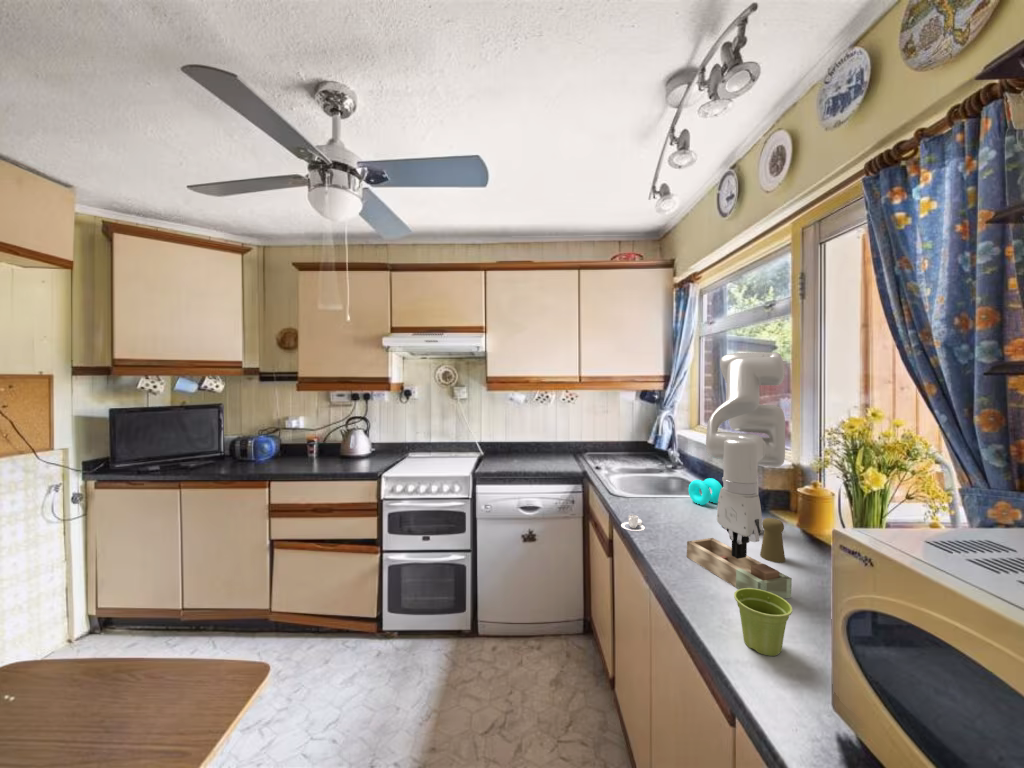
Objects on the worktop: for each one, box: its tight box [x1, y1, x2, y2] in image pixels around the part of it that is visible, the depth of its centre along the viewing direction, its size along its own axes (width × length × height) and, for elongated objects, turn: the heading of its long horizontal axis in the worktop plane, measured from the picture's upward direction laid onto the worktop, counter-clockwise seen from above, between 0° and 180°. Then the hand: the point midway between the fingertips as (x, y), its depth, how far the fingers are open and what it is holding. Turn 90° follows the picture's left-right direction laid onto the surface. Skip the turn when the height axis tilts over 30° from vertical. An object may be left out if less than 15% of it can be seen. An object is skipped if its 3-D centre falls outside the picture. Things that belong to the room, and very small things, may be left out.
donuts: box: [687, 477, 723, 506], centre depth 161 cm, size 10×10×10 cm
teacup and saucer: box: [620, 514, 646, 532], centre depth 135 cm, size 9×8×4 cm
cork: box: [759, 517, 786, 564], centre depth 112 cm, size 6×6×11 cm
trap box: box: [686, 537, 793, 600], centre depth 102 cm, size 24×9×4 cm, turn 16°
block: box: [751, 563, 780, 581], centre depth 94 cm, size 4×4×4 cm
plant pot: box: [733, 588, 793, 657], centre depth 75 cm, size 9×9×9 cm
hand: (739, 556), depth 101 cm, fingers closed
